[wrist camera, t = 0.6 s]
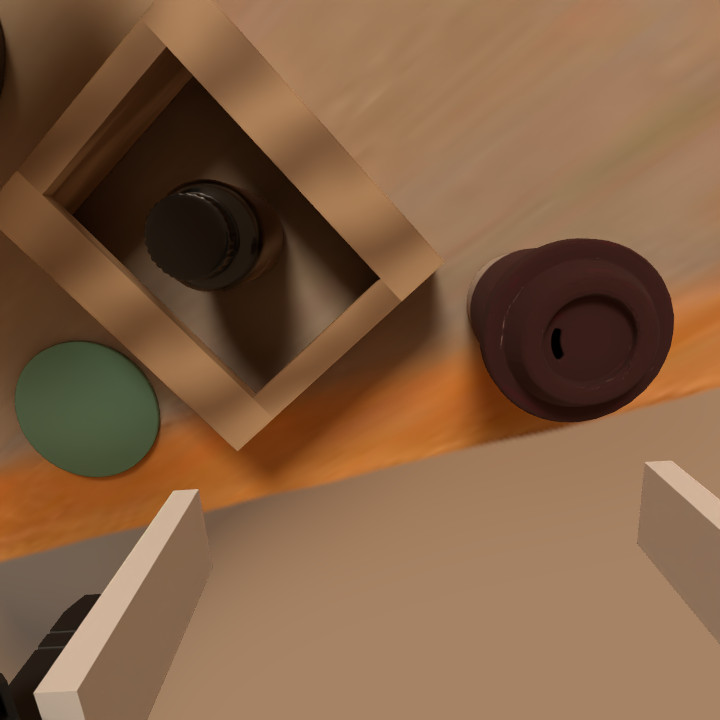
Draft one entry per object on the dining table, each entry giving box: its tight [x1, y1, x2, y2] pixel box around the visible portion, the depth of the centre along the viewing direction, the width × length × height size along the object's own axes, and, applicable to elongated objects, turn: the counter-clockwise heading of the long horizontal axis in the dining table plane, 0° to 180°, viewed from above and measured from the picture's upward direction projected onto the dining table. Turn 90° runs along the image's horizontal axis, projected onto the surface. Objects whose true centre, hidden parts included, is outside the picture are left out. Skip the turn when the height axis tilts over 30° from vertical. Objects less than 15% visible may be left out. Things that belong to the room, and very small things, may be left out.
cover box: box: [0, 0, 445, 451], centre depth 36 cm, size 22×19×7 cm
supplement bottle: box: [144, 179, 283, 292], centre depth 33 cm, size 7×7×12 cm
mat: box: [15, 341, 160, 477], centre depth 43 cm, size 12×12×1 cm
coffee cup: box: [467, 238, 674, 422], centre depth 32 cm, size 10×10×15 cm
